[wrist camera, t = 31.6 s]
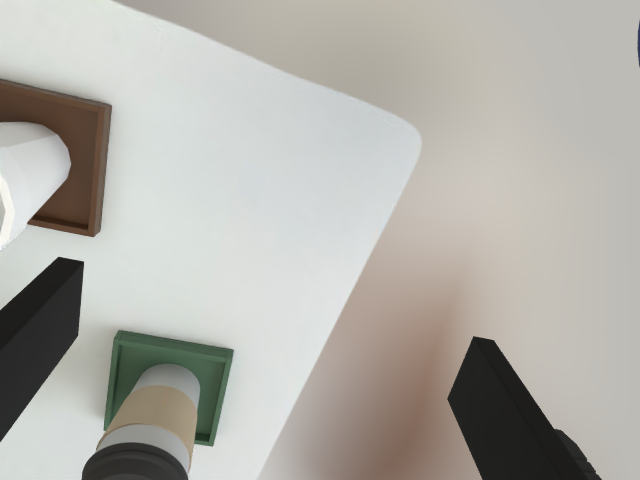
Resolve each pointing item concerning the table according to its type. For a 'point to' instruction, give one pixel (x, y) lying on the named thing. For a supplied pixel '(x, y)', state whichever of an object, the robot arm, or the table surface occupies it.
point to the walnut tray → (83, 146)
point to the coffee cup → (150, 429)
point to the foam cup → (27, 173)
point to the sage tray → (148, 351)
